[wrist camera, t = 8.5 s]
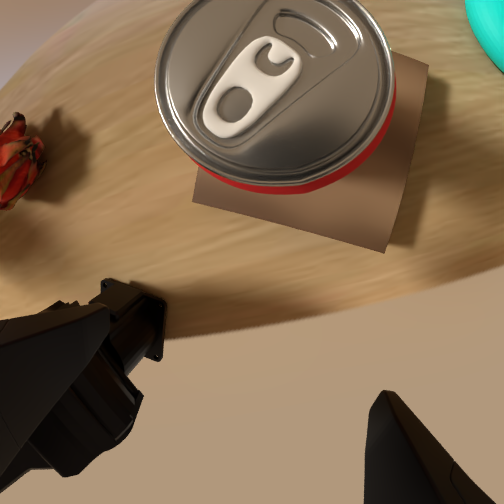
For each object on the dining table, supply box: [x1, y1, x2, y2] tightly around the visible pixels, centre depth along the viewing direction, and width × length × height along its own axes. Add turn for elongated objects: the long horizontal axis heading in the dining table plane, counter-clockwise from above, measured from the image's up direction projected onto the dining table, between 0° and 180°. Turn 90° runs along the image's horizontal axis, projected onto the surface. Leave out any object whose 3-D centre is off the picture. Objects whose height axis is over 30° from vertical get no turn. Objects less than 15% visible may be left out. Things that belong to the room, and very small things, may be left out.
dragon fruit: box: [0, 112, 47, 211], centre depth 20 cm, size 8×8×12 cm
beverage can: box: [154, 0, 396, 195], centre depth 10 cm, size 5×5×12 cm
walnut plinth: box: [192, 51, 429, 253], centre depth 17 cm, size 12×12×2 cm
